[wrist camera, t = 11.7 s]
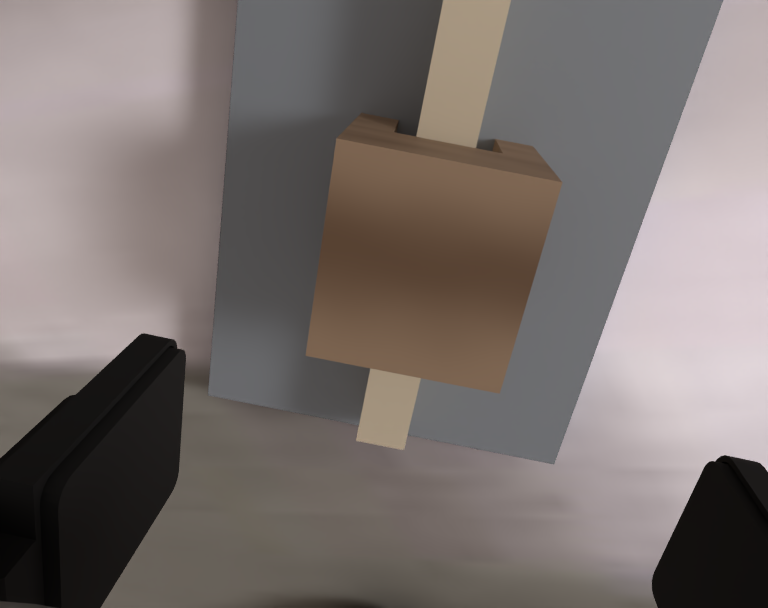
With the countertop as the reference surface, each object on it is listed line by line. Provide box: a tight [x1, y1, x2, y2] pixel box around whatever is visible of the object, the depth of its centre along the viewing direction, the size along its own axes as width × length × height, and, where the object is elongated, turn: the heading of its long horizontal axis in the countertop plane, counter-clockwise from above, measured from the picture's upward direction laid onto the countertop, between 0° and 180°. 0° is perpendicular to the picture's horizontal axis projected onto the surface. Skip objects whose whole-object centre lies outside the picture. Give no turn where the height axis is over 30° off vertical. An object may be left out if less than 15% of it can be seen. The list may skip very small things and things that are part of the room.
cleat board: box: [208, 0, 723, 464], centre depth 24 cm, size 20×16×4 cm
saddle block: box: [306, 113, 563, 394], centre depth 22 cm, size 7×6×6 cm
